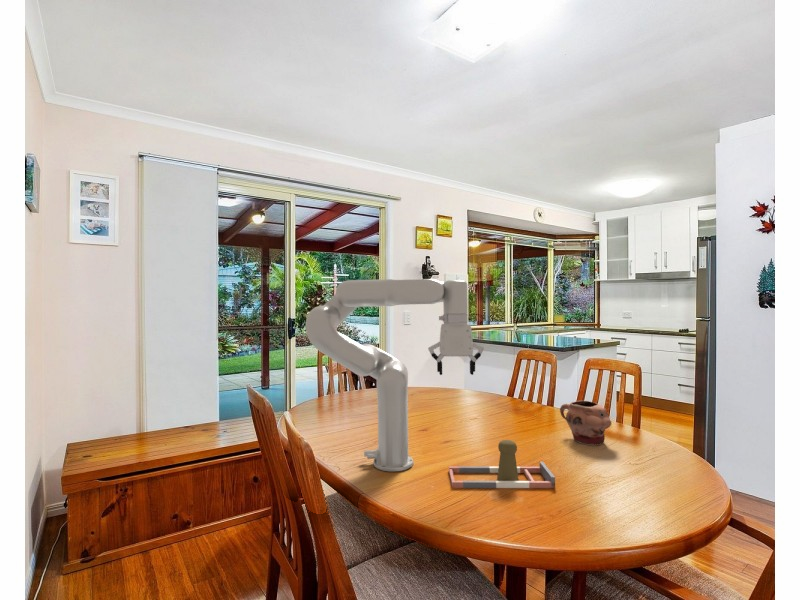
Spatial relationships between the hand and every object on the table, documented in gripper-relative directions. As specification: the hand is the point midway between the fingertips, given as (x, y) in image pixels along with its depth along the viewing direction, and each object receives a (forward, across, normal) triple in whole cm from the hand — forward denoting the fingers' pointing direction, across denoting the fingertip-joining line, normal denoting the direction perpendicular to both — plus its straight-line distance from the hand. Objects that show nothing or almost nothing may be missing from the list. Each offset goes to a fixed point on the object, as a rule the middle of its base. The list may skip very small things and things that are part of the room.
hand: (456, 374), depth 133 cm
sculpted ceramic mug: (+28, +48, +22) cm, 60 cm away
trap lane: (+28, +11, -11) cm, 32 cm away
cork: (+28, +13, -11) cm, 33 cm away
